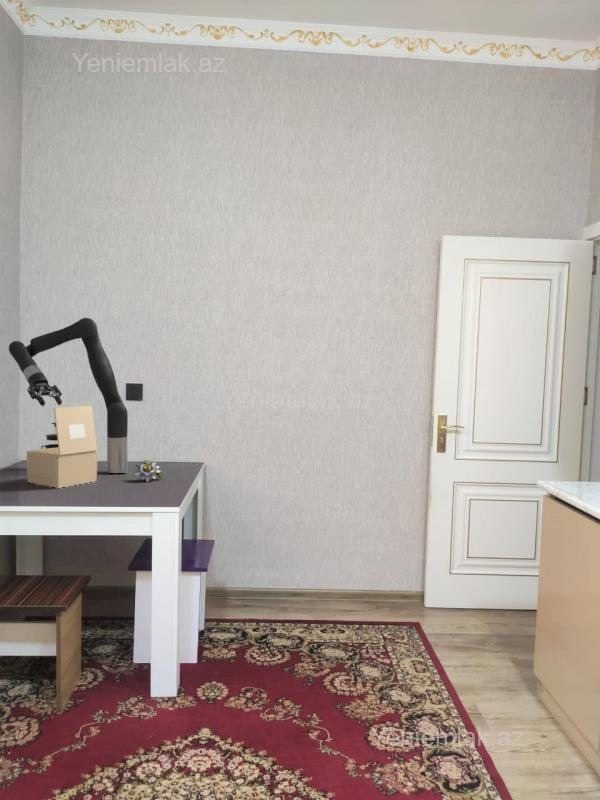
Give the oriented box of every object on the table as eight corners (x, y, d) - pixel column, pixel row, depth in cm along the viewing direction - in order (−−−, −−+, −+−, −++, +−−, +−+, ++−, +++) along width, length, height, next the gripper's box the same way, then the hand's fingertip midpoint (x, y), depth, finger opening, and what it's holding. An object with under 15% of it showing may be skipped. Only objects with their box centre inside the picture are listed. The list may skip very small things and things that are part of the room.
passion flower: (147, 494, 288) (132, 474, 283) (141, 485, 297) (127, 465, 292) (168, 479, 291) (154, 458, 285) (162, 470, 300) (148, 451, 295)
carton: (25, 483, 278) (25, 451, 278) (66, 476, 297) (66, 446, 296) (57, 489, 268) (57, 455, 267) (97, 481, 286) (97, 450, 285)
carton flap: (53, 407, 269) (55, 407, 268) (90, 405, 285) (92, 405, 285) (59, 455, 268) (60, 454, 267) (96, 450, 284) (97, 450, 284)
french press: (67, 467, 322) (67, 421, 321) (66, 470, 313) (66, 423, 312) (42, 468, 319) (41, 421, 318) (40, 471, 310) (40, 423, 309)
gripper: (24, 371, 282) (42, 399, 276) (52, 371, 294) (69, 397, 288) (17, 383, 285) (34, 411, 279) (45, 383, 297) (62, 409, 291)
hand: (52, 404), depth 284 cm, fingers open, 8 cm apart
